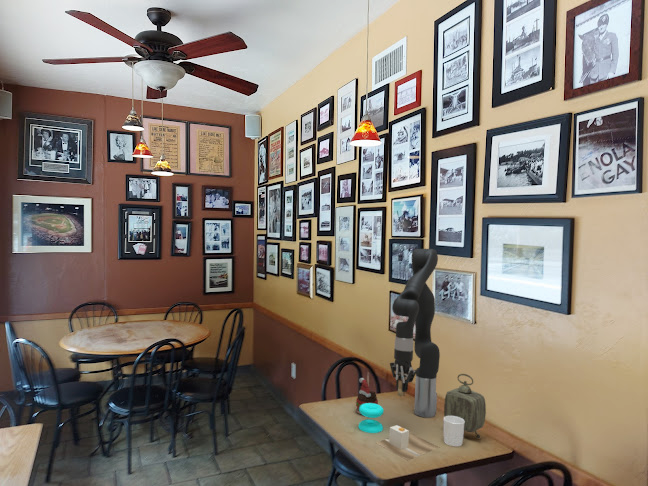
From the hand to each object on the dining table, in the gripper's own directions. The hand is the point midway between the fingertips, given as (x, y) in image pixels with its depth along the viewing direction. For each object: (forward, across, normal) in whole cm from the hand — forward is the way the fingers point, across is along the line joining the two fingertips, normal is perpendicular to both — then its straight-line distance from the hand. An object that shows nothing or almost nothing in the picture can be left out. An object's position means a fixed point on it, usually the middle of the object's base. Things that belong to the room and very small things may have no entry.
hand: (401, 390), depth 180 cm
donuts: (+17, -7, -10) cm, 21 cm away
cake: (+17, -23, +1) cm, 29 cm away
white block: (+16, +10, -10) cm, 22 cm away
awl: (+2, 0, 0) cm, 2 cm away
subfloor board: (+17, +12, -7) cm, 22 cm away
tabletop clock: (+17, +14, +21) cm, 31 cm away
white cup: (+17, +18, +10) cm, 27 cm away
